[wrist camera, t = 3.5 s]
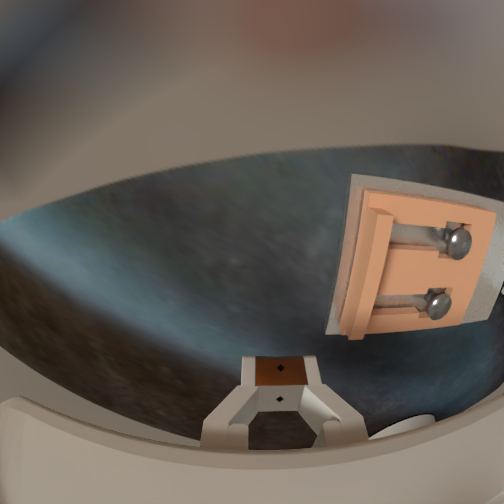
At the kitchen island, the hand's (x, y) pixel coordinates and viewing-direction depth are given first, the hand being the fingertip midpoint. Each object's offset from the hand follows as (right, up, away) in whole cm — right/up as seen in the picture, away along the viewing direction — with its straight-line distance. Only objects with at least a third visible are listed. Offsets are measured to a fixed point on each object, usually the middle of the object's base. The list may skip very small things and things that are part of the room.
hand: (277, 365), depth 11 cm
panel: (+14, +3, +9) cm, 17 cm away
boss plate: (+17, +4, +11) cm, 20 cm away
